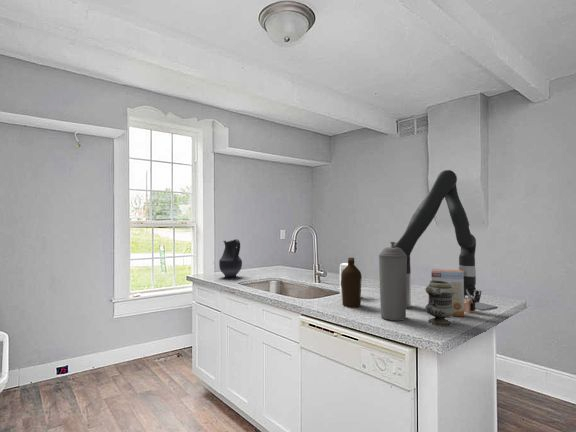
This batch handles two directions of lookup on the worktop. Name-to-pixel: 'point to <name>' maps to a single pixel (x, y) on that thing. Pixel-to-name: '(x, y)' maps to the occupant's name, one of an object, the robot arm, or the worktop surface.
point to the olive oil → (351, 285)
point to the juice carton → (342, 267)
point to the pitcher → (231, 259)
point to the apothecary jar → (440, 302)
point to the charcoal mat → (484, 306)
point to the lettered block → (467, 305)
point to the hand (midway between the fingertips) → (467, 309)
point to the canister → (393, 282)
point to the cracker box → (456, 283)
